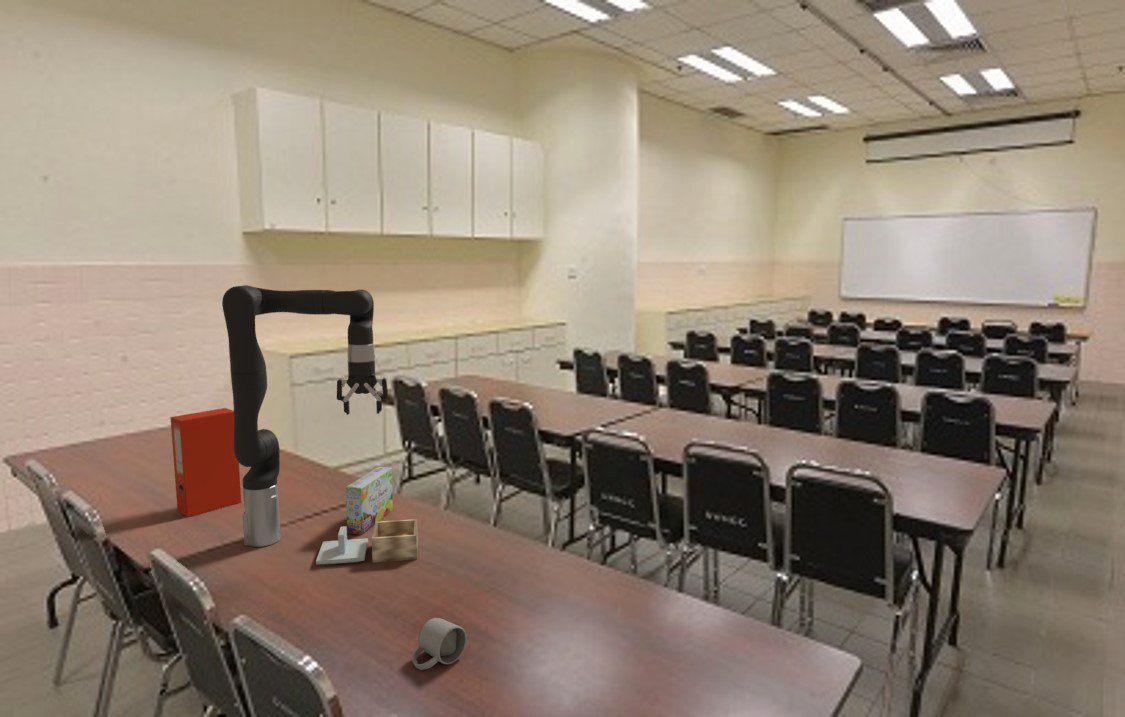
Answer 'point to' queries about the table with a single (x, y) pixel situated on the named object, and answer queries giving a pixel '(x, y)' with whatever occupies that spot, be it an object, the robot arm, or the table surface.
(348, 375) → the robot arm
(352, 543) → the lid
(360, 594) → the table surface
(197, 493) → the file binder
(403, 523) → the box
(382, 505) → the snack box
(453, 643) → the ceramic mug
